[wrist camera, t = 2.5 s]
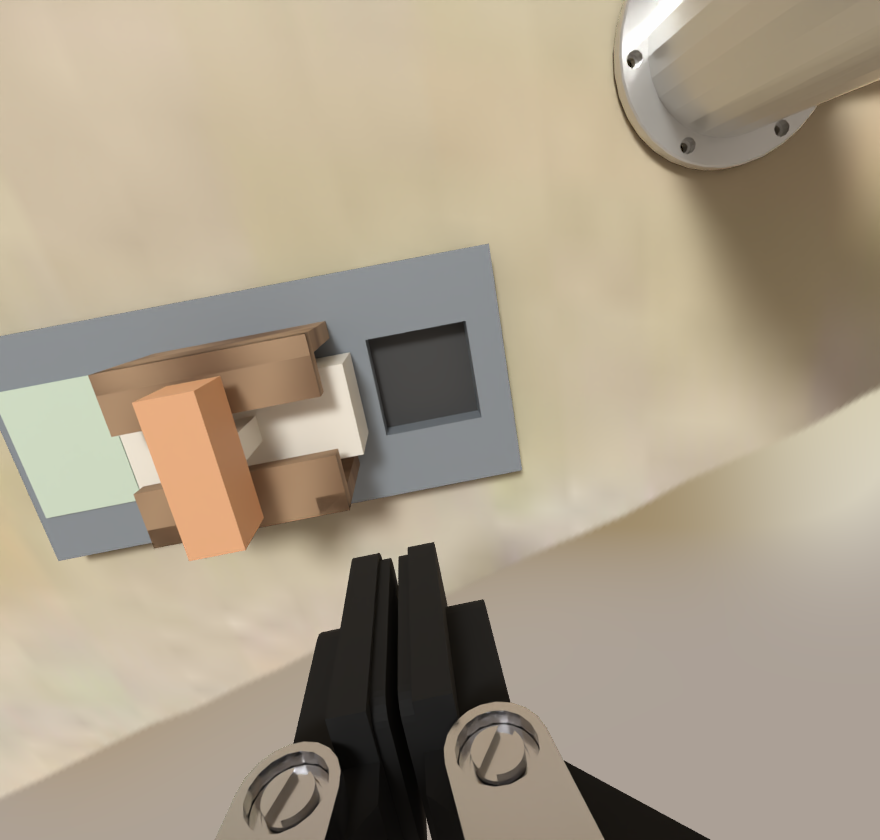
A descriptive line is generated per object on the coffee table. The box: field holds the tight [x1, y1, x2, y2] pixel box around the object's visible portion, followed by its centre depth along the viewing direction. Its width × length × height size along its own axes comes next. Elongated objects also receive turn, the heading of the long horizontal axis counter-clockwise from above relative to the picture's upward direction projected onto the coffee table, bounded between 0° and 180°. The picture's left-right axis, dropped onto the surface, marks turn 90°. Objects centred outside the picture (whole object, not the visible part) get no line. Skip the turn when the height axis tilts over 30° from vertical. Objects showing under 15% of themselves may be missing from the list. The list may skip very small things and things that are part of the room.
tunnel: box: [88, 321, 360, 548], centre depth 28 cm, size 10×9×6 cm
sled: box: [120, 352, 369, 561], centre depth 26 cm, size 12×7×10 cm, turn 100°
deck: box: [0, 244, 522, 561], centre depth 32 cm, size 30×14×2 cm, turn 100°
